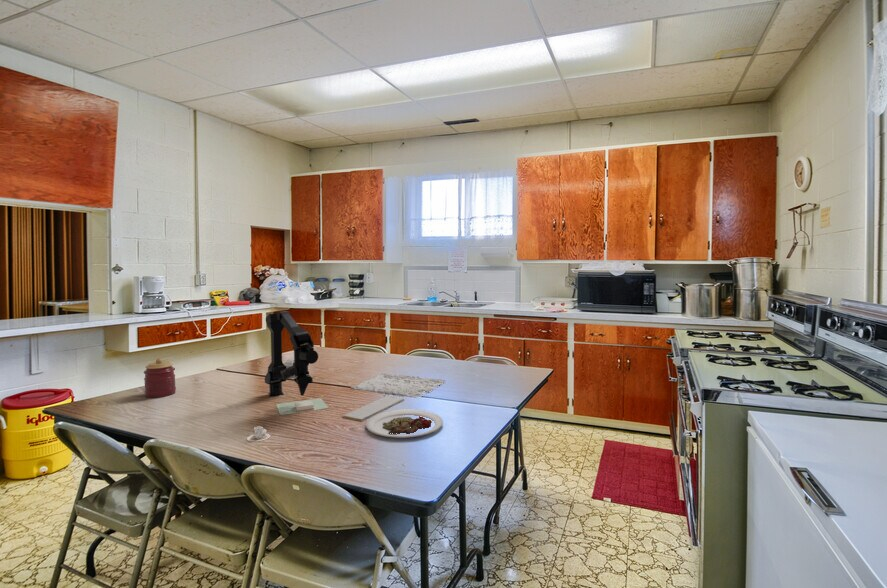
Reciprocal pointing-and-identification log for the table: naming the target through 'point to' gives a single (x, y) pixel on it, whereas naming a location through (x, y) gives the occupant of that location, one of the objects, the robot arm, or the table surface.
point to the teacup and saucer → (258, 434)
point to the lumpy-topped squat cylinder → (289, 365)
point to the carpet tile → (399, 385)
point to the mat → (290, 409)
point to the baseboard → (373, 408)
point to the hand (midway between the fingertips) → (302, 395)
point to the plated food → (402, 423)
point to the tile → (304, 406)
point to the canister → (159, 379)
